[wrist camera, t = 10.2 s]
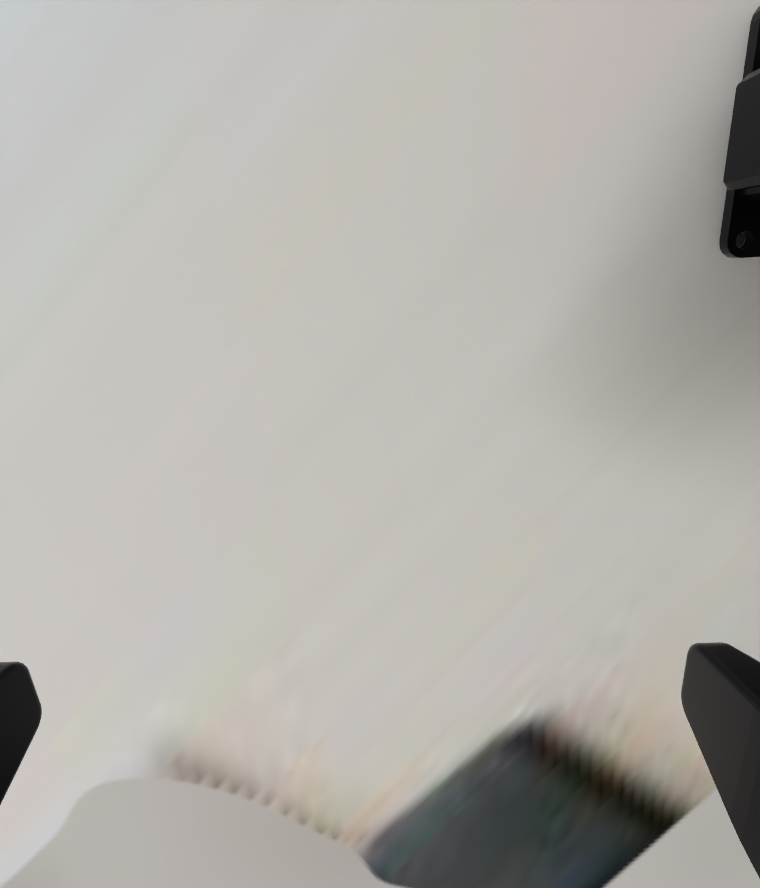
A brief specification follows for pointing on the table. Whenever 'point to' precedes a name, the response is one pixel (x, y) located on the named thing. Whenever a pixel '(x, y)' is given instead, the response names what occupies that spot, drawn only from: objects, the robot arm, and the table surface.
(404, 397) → the table surface
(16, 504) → the table surface
